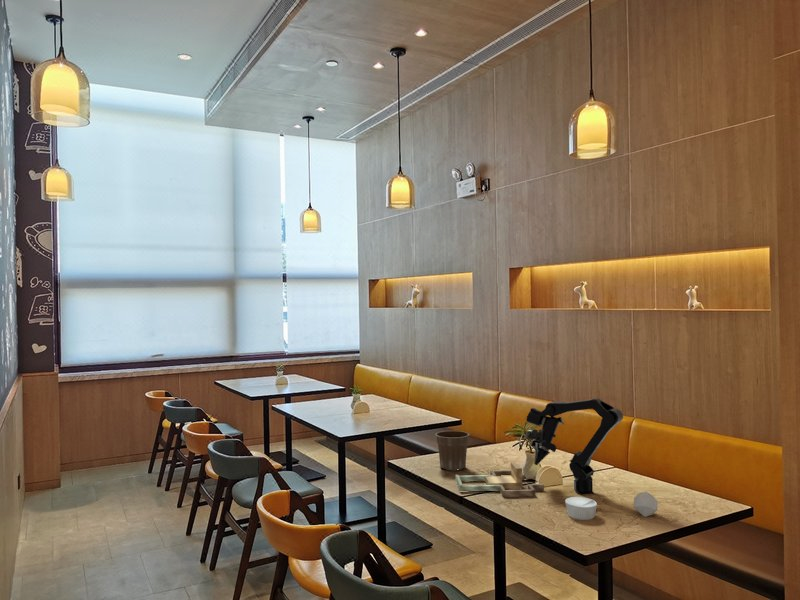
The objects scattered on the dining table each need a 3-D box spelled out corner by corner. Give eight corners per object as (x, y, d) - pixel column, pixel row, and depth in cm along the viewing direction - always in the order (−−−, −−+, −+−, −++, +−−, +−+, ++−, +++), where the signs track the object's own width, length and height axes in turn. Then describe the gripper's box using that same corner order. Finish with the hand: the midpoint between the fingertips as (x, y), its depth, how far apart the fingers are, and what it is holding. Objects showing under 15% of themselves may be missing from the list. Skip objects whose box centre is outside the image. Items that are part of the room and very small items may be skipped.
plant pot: (435, 463, 295) (435, 430, 295) (468, 462, 294) (468, 430, 294) (436, 472, 278) (435, 437, 278) (471, 472, 278) (470, 437, 278)
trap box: (531, 475, 272) (531, 468, 272) (548, 496, 242) (548, 488, 242) (453, 476, 271) (453, 470, 271) (462, 498, 242) (462, 490, 242)
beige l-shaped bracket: (516, 482, 262) (516, 462, 262) (522, 489, 252) (522, 468, 252) (485, 483, 262) (484, 462, 262) (489, 490, 252) (489, 469, 252)
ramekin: (599, 522, 214) (598, 507, 214) (566, 520, 216) (566, 505, 216) (595, 511, 225) (595, 497, 225) (564, 509, 227) (564, 496, 227)
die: (643, 510, 227) (628, 490, 226) (664, 503, 222) (648, 483, 222) (642, 525, 220) (626, 504, 220) (663, 518, 215) (647, 497, 215)
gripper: (525, 422, 265) (512, 455, 261) (537, 422, 247) (524, 457, 243) (548, 433, 265) (535, 466, 261) (562, 433, 246) (549, 469, 243)
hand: (535, 464), depth 252 cm, fingers closed
